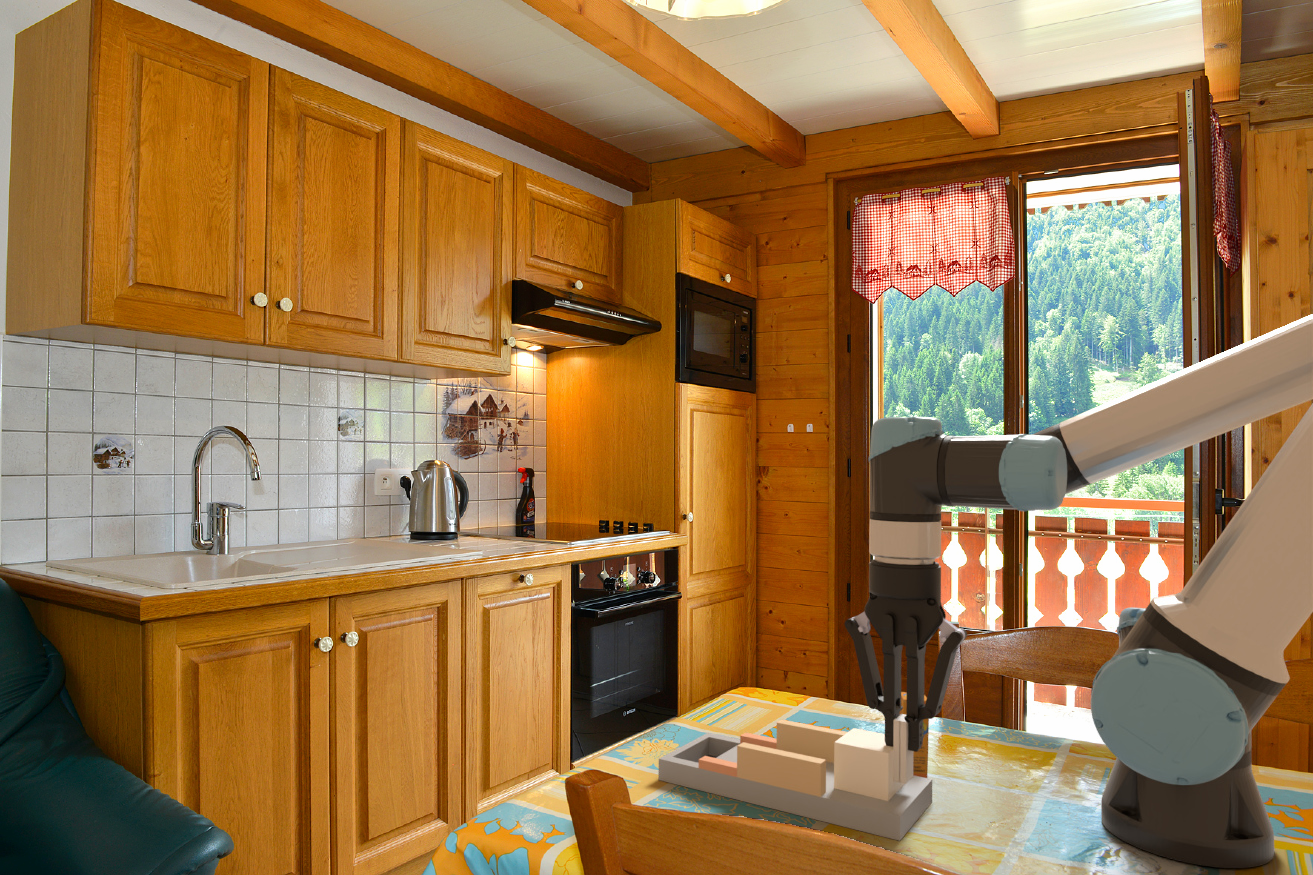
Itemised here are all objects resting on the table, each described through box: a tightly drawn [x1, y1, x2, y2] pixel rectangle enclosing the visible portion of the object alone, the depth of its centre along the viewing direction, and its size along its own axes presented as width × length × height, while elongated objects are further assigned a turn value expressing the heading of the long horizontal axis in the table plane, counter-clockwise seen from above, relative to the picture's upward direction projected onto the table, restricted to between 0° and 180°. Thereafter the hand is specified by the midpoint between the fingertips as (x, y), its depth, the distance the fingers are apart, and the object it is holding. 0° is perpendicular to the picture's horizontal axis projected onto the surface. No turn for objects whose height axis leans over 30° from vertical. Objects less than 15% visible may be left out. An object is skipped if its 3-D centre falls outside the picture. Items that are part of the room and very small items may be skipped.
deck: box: [658, 719, 933, 842], centre depth 99 cm, size 29×12×6 cm, turn 57°
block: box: [834, 727, 904, 801], centre depth 94 cm, size 6×6×5 cm
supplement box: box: [900, 691, 930, 778], centre depth 103 cm, size 3×3×10 cm
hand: (903, 778), depth 92 cm, fingers closed
